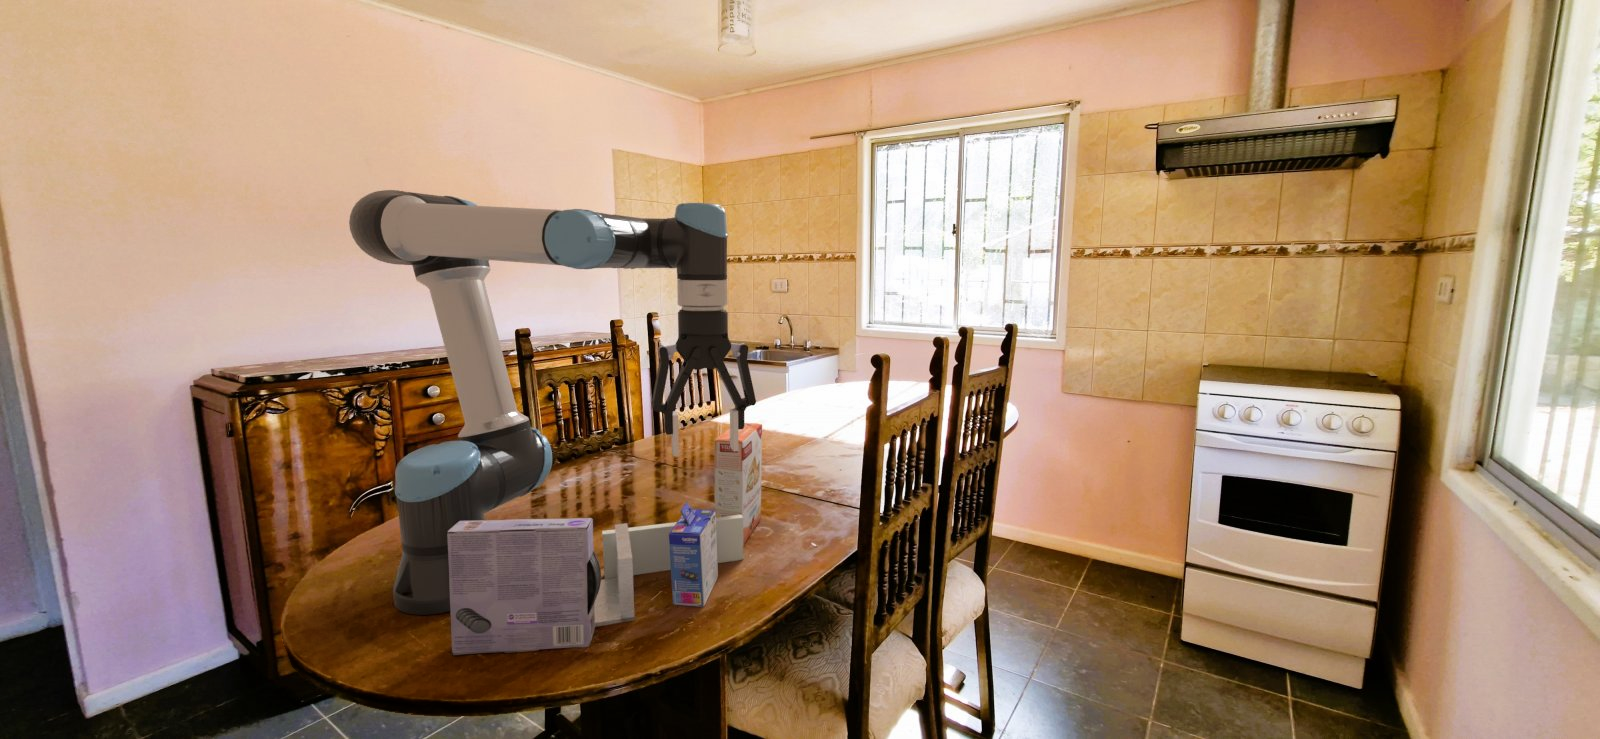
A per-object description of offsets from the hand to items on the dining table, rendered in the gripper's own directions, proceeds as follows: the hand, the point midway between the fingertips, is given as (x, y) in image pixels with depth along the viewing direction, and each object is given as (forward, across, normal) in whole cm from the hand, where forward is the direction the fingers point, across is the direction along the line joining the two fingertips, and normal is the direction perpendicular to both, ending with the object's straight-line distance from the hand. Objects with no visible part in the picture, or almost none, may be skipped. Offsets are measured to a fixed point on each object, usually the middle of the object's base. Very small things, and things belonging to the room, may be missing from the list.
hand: (705, 451), depth 99 cm
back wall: (+23, -4, +9) cm, 25 cm away
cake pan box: (+24, -26, -7) cm, 36 cm away
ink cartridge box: (+24, -2, 0) cm, 24 cm away
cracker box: (+24, +10, +20) cm, 33 cm away
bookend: (+23, -16, +1) cm, 28 cm away
